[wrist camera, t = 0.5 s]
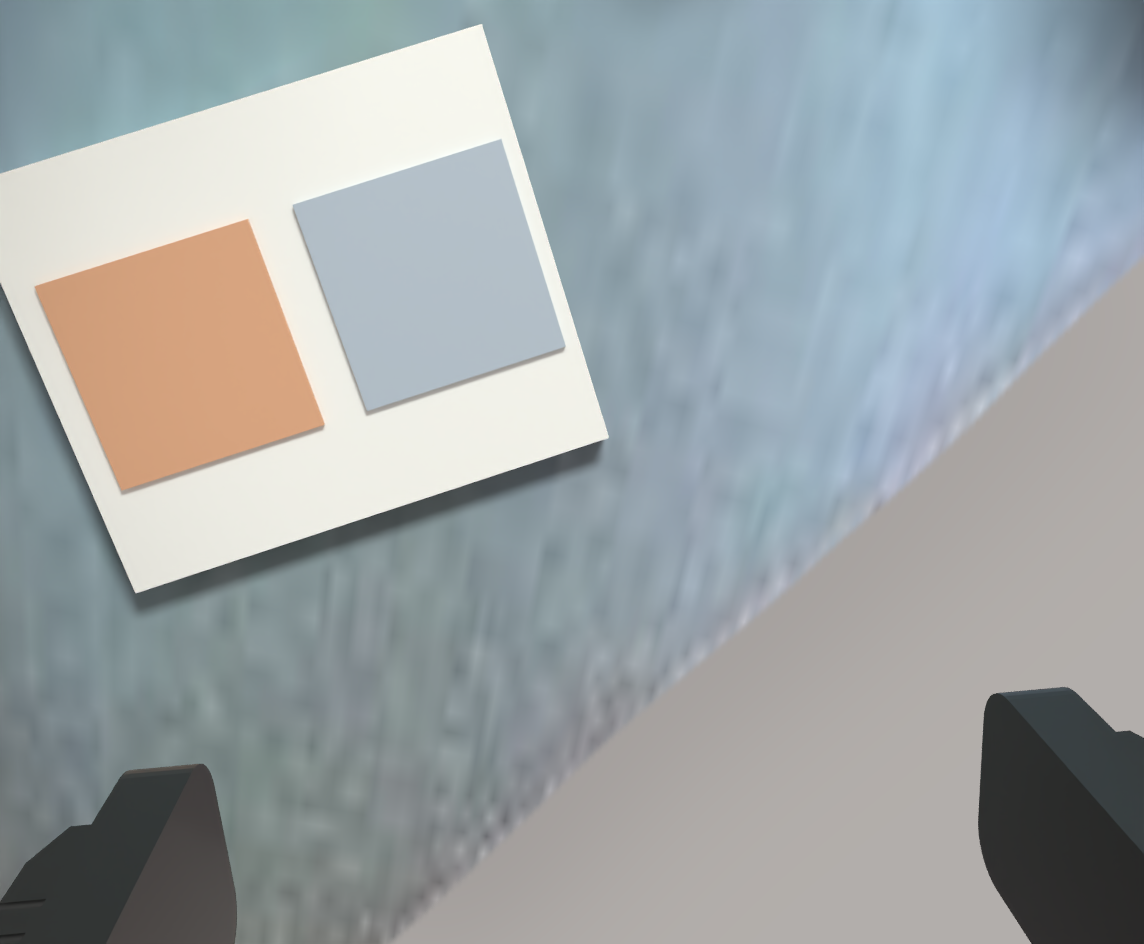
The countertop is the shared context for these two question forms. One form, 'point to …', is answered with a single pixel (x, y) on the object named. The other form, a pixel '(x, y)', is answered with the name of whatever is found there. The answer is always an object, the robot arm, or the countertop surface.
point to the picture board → (297, 308)
